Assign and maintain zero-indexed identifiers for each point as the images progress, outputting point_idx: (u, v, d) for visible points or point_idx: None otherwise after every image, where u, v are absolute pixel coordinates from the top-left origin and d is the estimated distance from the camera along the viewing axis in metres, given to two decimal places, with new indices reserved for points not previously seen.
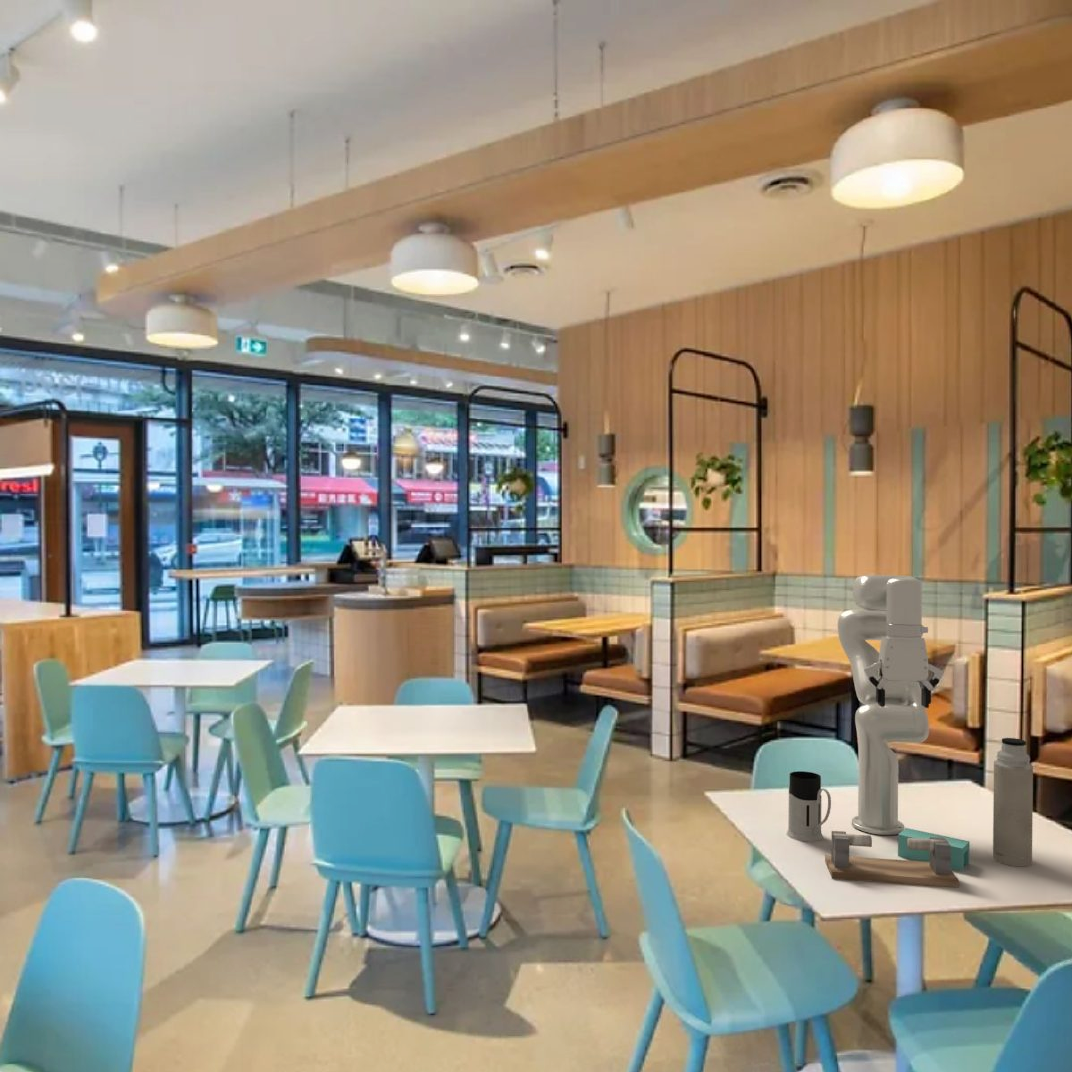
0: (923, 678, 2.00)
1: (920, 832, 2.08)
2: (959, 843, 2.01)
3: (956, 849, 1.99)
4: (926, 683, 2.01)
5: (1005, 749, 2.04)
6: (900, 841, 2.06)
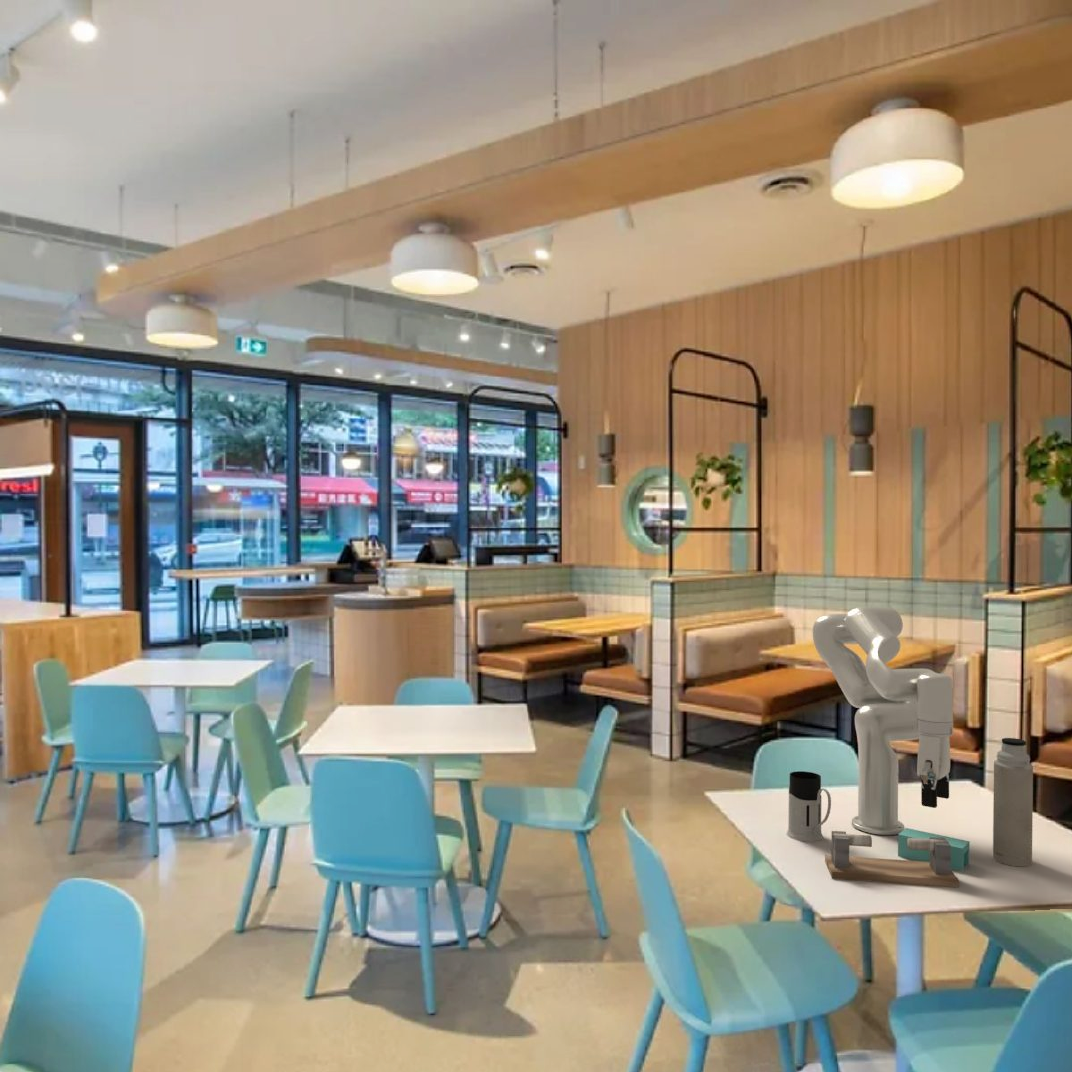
0: (949, 770, 2.06)
1: (920, 832, 2.08)
2: (959, 843, 2.01)
3: (956, 849, 1.99)
4: (947, 774, 2.07)
5: (1005, 749, 2.04)
6: (900, 841, 2.06)
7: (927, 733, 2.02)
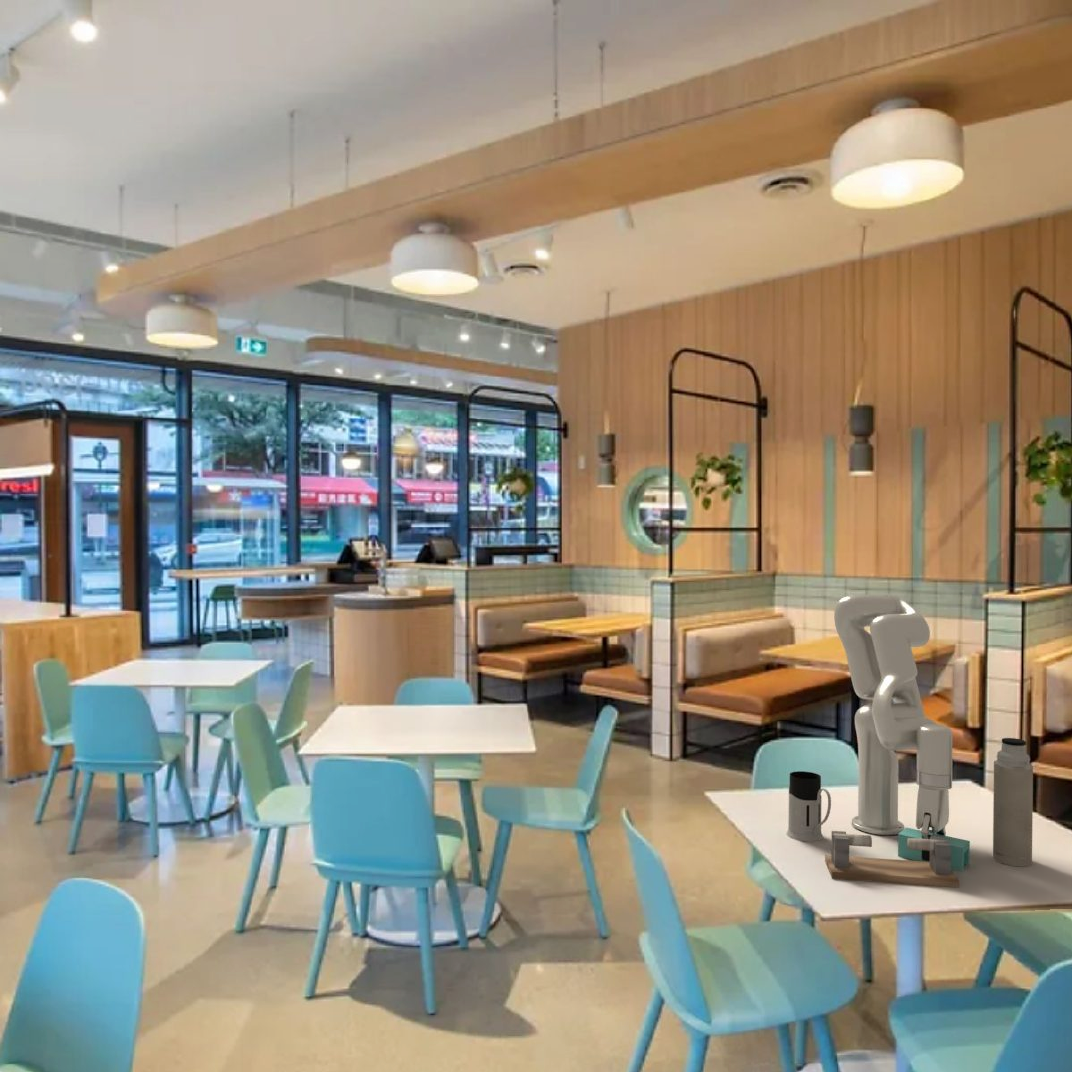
0: (947, 821, 2.06)
1: (920, 832, 2.08)
2: (959, 843, 2.01)
3: (956, 849, 1.99)
4: (944, 829, 2.06)
5: (1005, 749, 2.04)
6: (900, 841, 2.06)
7: (926, 785, 2.02)
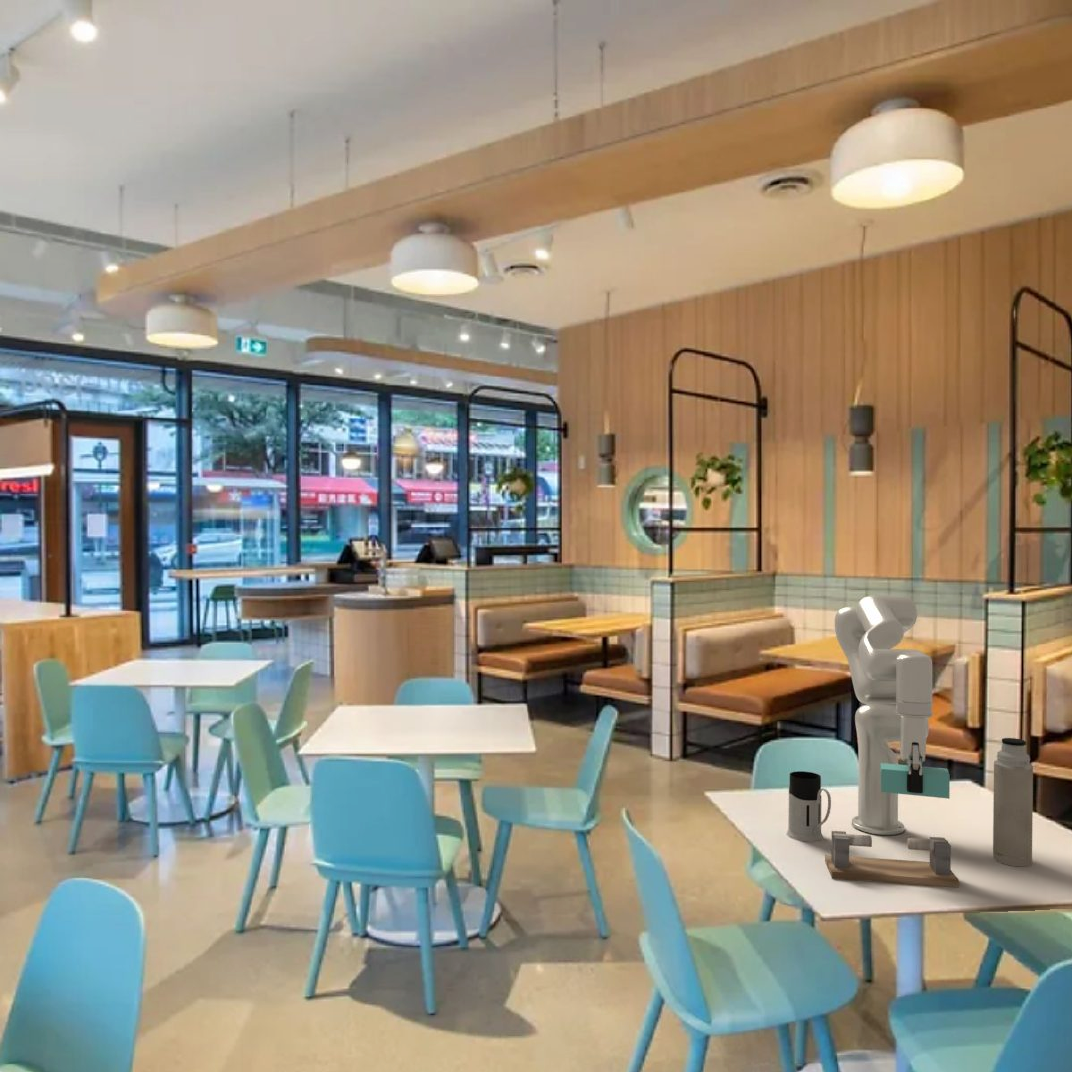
0: None
1: (897, 765, 2.03)
2: (941, 771, 1.98)
3: (943, 776, 1.95)
4: (919, 760, 2.03)
5: (1005, 749, 2.04)
6: (883, 775, 1.99)
7: (912, 715, 1.97)
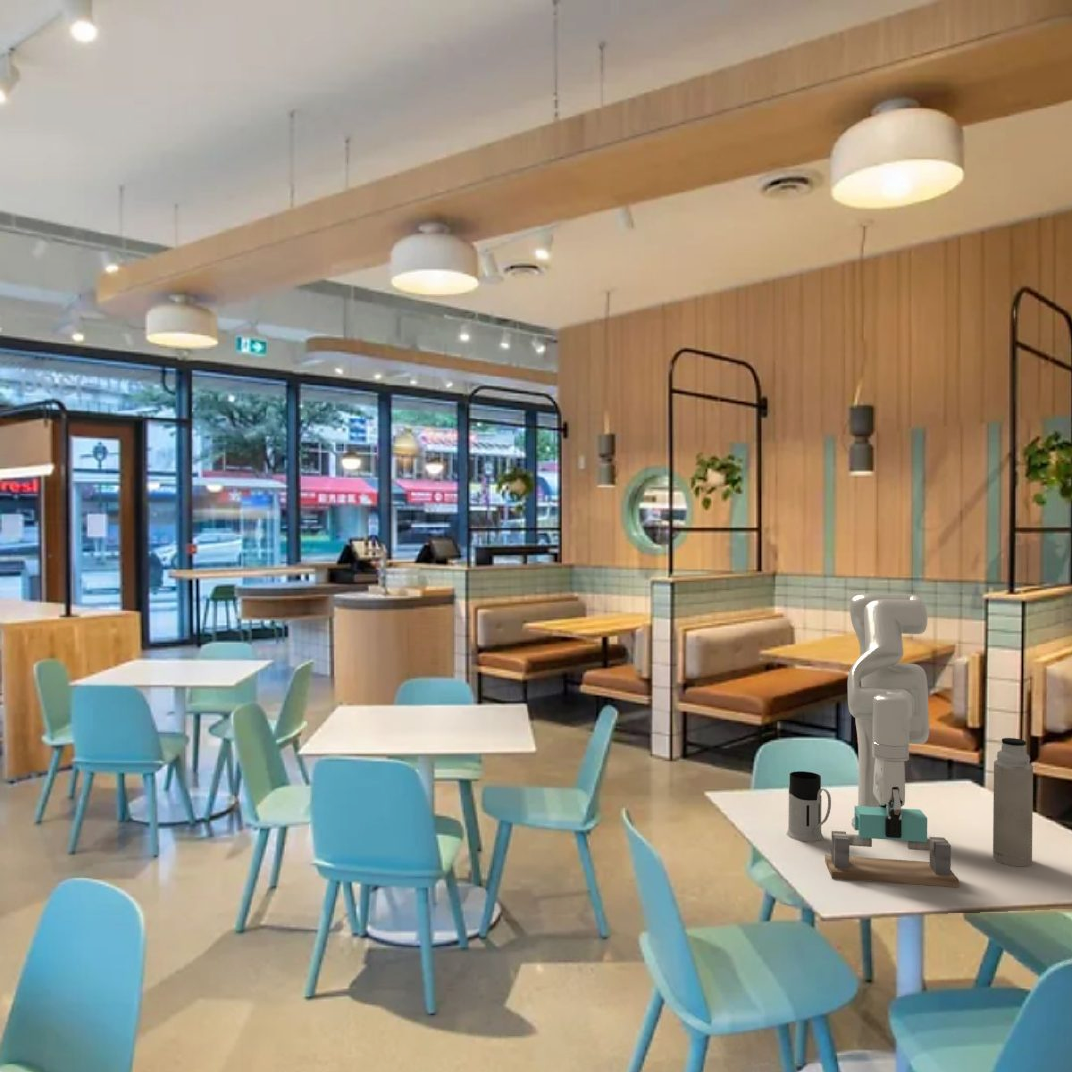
0: None
1: (872, 808, 1.98)
2: (917, 813, 1.95)
3: (920, 820, 1.92)
4: (892, 801, 1.99)
5: (1005, 749, 2.04)
6: (862, 821, 1.94)
7: (891, 758, 1.92)
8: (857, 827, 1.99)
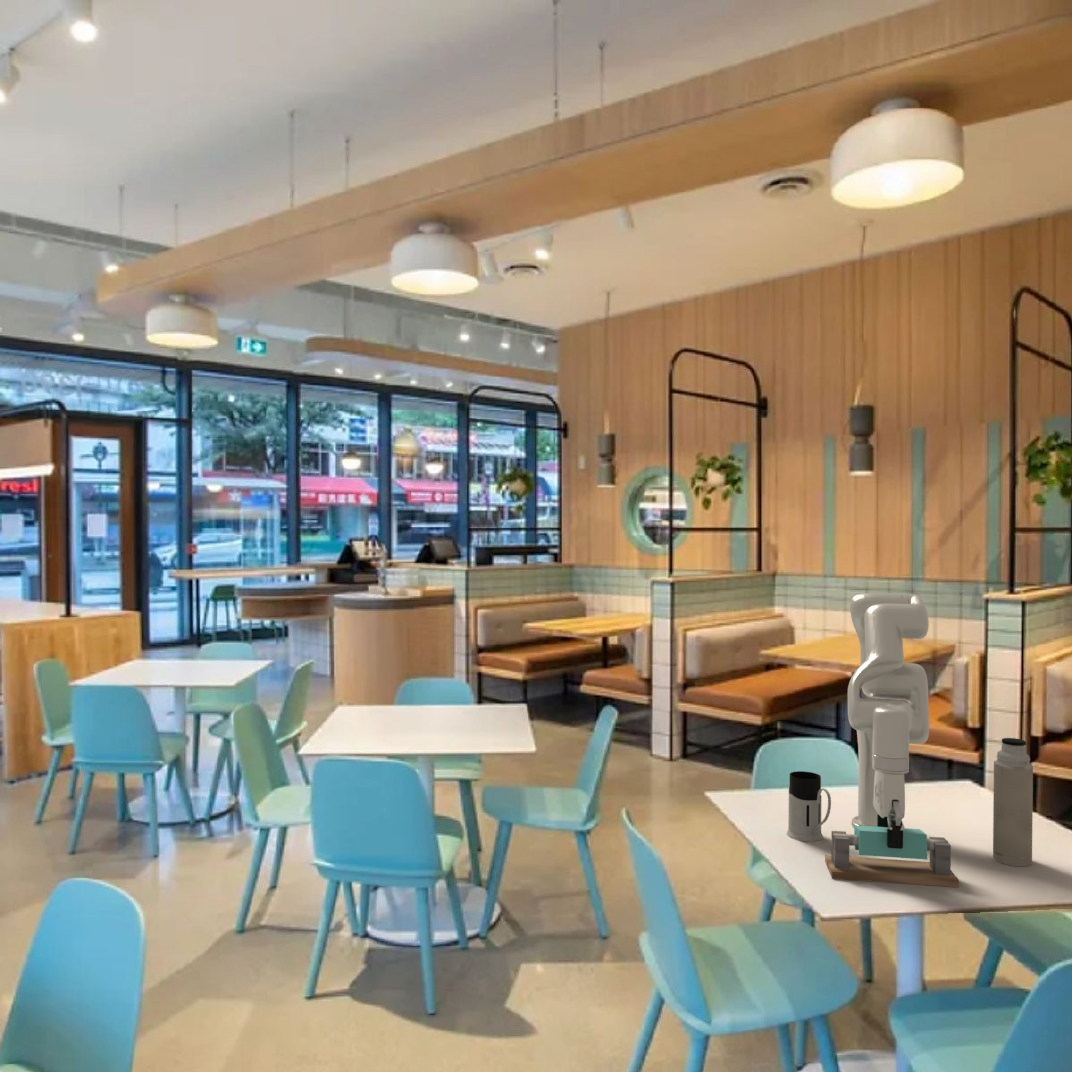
0: None
1: (871, 827, 1.98)
2: (916, 831, 1.95)
3: (920, 836, 1.92)
4: None
5: (1005, 749, 2.04)
6: (861, 837, 1.94)
7: (891, 771, 1.92)
8: (857, 847, 1.99)
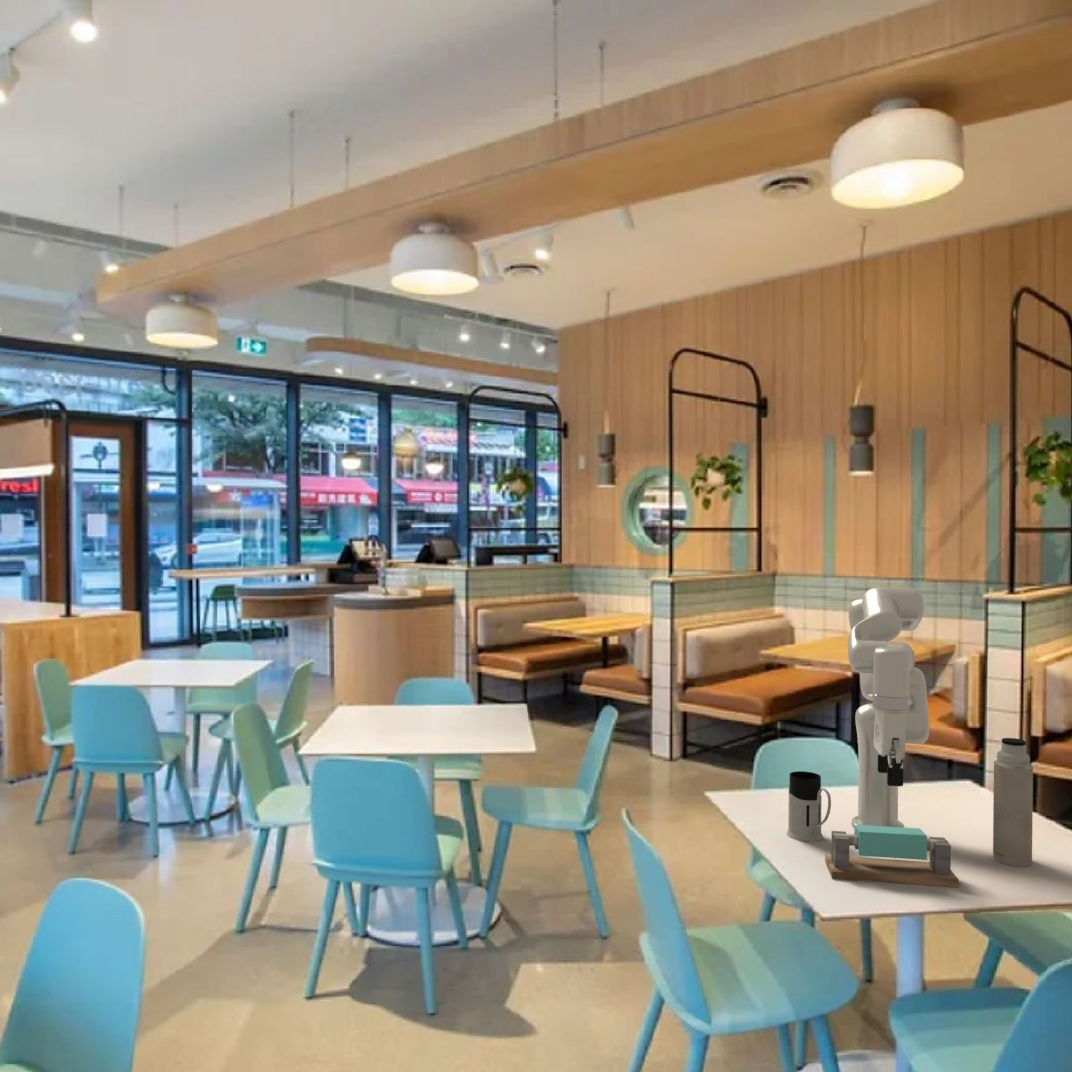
0: None
1: (872, 826, 1.98)
2: (916, 831, 1.95)
3: (920, 837, 1.92)
4: None
5: (1005, 749, 2.04)
6: (861, 838, 1.94)
7: (891, 710, 1.93)
8: (857, 846, 1.99)
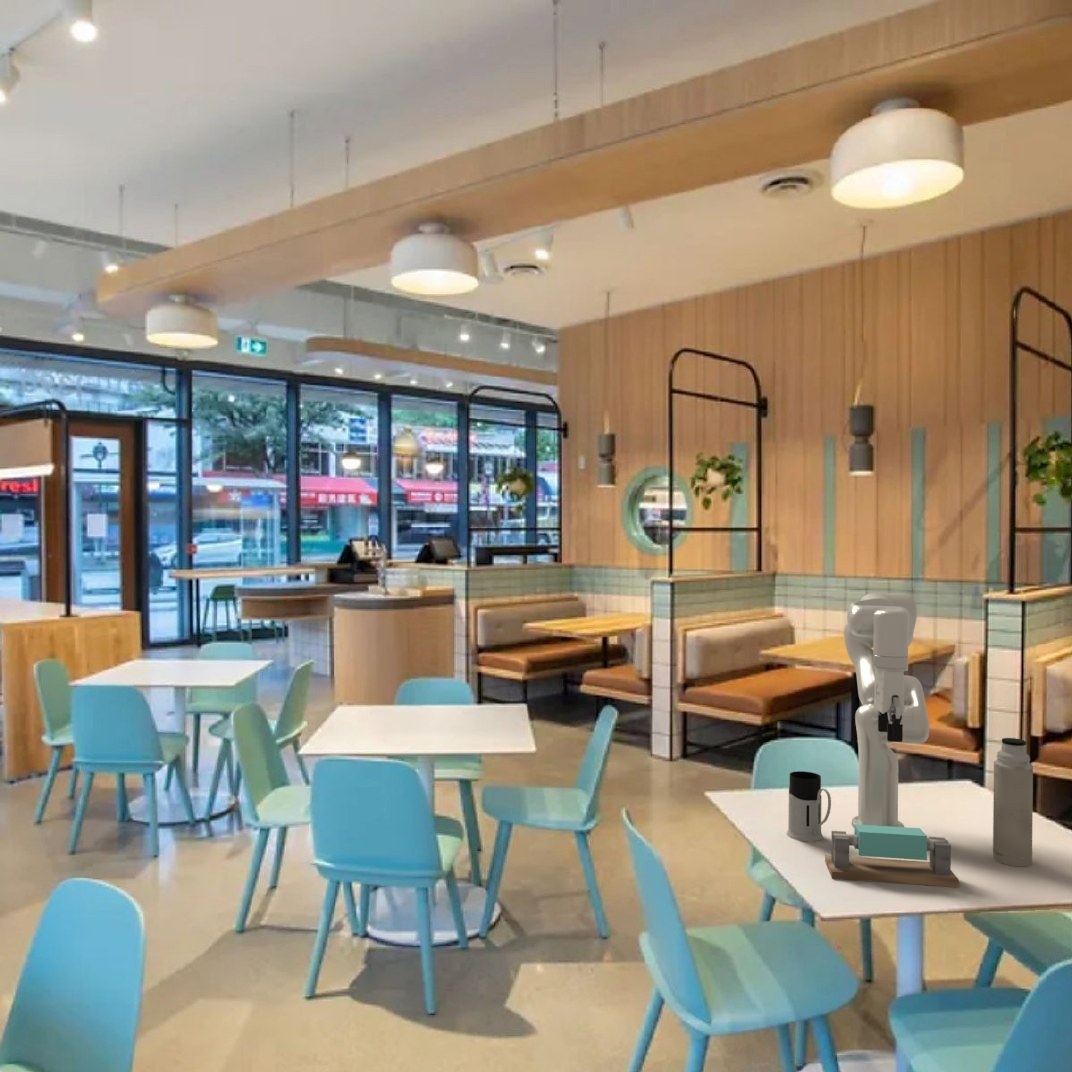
0: None
1: (872, 826, 1.98)
2: (916, 831, 1.95)
3: (920, 838, 1.92)
4: None
5: (1005, 749, 2.04)
6: (862, 839, 1.94)
7: (891, 669, 2.02)
8: (857, 846, 1.99)
